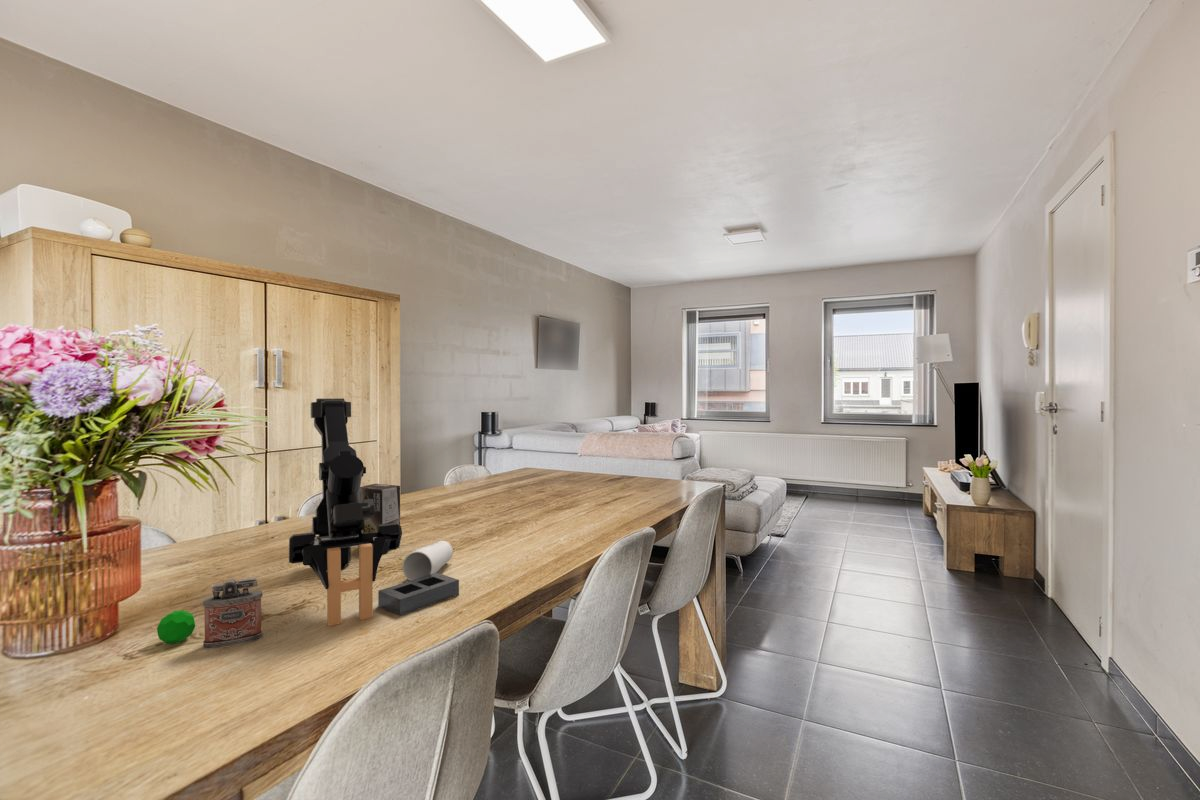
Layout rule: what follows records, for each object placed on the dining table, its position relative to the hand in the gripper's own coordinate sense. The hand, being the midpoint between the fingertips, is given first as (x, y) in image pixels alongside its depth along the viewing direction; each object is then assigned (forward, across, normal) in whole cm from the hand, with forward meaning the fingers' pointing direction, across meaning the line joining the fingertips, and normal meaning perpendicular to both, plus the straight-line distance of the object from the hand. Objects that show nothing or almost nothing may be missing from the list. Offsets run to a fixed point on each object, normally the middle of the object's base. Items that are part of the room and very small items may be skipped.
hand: (351, 584), depth 97 cm
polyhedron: (0, -25, +10) cm, 27 cm away
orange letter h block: (+4, 0, +6) cm, 7 cm away
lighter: (+4, -17, +6) cm, 19 cm away
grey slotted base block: (+2, +13, +8) cm, 15 cm away
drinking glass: (-16, +23, +21) cm, 35 cm away
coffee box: (-28, +12, +38) cm, 49 cm away
